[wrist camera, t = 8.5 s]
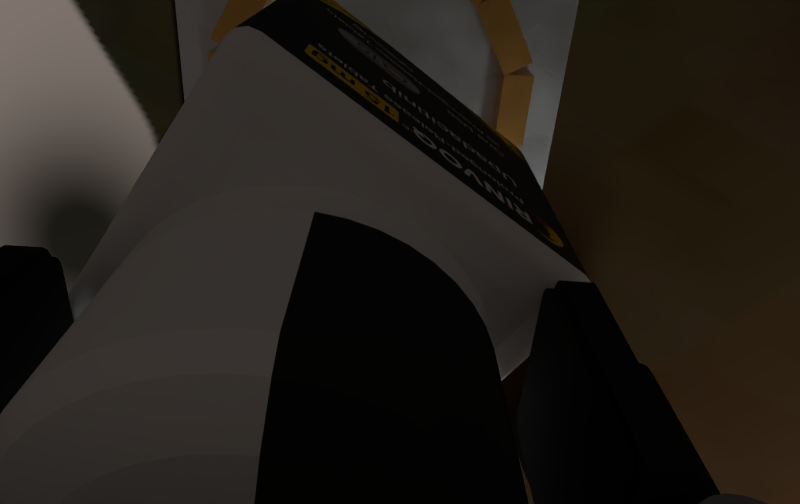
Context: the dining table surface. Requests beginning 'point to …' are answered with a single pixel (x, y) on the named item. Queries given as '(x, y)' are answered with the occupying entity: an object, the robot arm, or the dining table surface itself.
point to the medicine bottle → (299, 294)
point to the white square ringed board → (440, 53)
